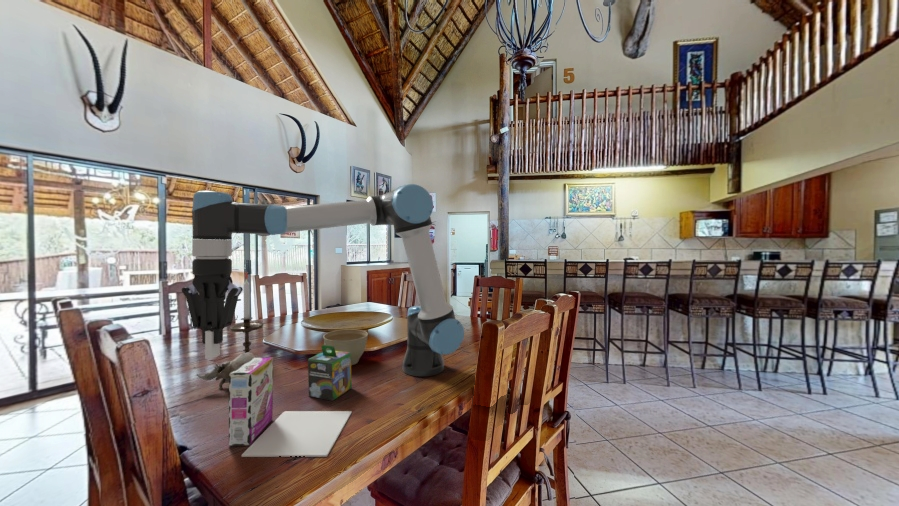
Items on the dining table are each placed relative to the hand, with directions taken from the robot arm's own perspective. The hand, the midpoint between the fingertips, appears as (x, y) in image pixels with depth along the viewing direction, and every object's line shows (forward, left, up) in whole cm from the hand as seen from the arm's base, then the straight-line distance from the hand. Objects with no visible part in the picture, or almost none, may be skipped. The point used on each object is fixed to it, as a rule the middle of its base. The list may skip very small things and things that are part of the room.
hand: (212, 357), depth 77 cm
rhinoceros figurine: (+12, -26, -19) cm, 34 cm away
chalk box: (-20, -21, -19) cm, 35 cm away
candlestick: (+20, -45, -18) cm, 53 cm away
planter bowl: (-17, -46, -19) cm, 53 cm away
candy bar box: (-9, 0, -18) cm, 21 cm away
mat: (-21, 0, -18) cm, 28 cm away
